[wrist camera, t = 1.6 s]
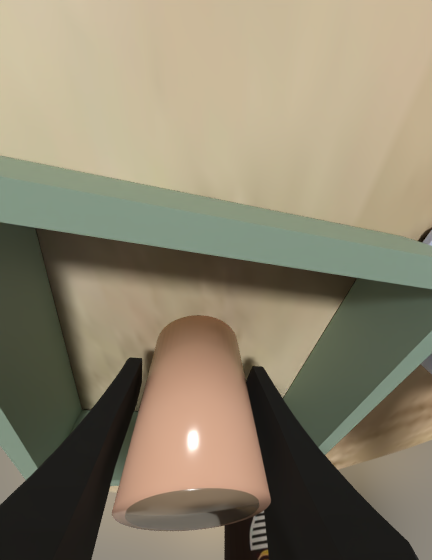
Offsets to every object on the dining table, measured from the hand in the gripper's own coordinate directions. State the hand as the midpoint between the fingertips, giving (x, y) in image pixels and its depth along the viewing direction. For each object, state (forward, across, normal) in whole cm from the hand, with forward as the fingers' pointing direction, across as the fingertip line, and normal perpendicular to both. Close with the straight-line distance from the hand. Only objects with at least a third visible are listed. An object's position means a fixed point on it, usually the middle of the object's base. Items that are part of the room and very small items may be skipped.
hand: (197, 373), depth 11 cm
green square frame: (+2, 0, 0) cm, 2 cm away
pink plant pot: (+2, 0, 0) cm, 2 cm away
